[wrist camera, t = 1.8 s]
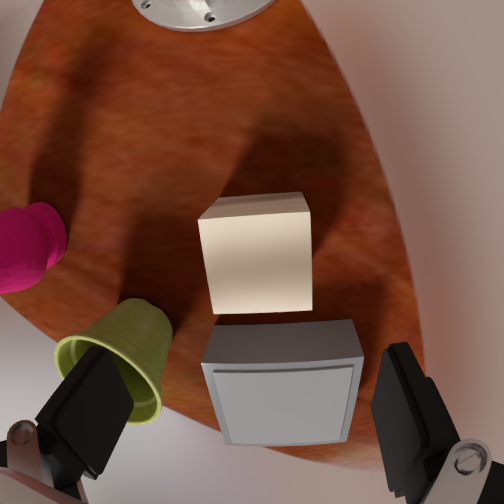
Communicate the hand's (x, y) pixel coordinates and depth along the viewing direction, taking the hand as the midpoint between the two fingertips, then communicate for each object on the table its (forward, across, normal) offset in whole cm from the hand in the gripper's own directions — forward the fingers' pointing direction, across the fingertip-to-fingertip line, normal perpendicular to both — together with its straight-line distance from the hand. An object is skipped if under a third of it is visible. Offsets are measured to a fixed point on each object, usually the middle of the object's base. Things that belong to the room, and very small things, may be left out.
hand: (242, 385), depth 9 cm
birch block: (+14, 0, -1) cm, 14 cm away
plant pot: (+15, +12, +7) cm, 20 cm away
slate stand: (+14, -1, +13) cm, 20 cm away
